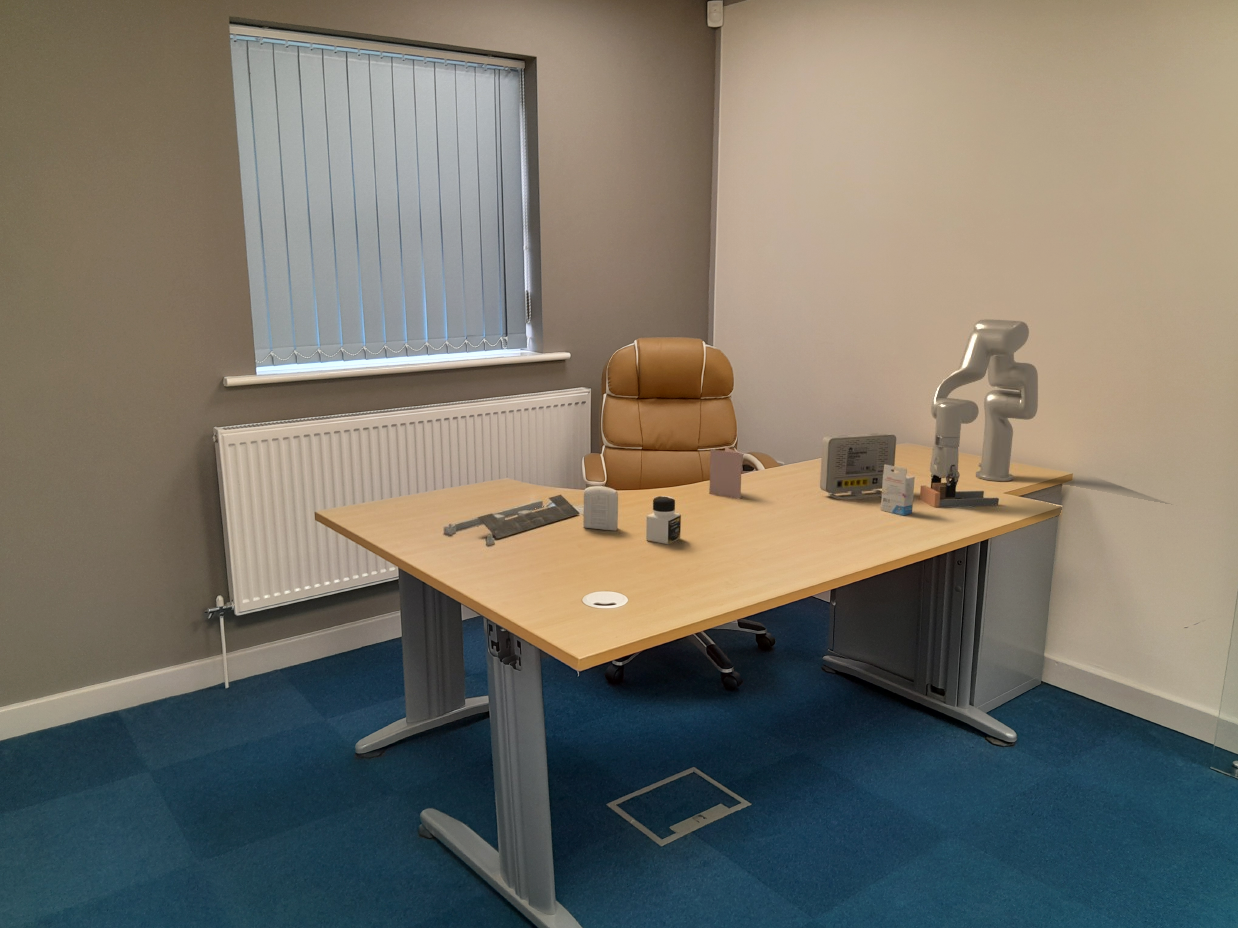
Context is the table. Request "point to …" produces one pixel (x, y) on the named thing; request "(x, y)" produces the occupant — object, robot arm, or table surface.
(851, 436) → the network device
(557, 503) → the paper cutter
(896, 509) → the ink box
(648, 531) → the medicine bottle
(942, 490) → the block
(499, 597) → the table surface
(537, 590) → the table surface
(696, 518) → the table surface
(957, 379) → the robot arm
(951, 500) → the guide channel
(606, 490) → the gravestone
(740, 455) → the greeting card
